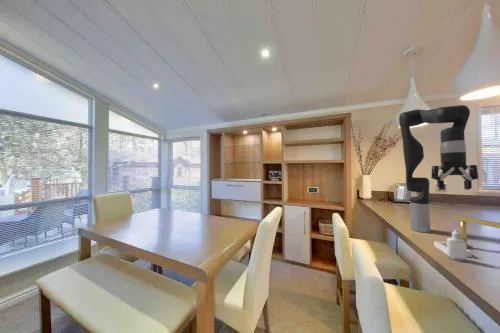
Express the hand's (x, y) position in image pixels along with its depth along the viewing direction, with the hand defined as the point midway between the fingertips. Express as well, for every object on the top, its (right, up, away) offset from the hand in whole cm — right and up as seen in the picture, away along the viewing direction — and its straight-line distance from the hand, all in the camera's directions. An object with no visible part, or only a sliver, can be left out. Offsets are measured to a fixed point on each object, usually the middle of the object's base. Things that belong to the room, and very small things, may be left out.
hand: (454, 189), depth 80 cm
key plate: (+18, -30, +12) cm, 37 cm away
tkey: (+19, -29, +6) cm, 35 cm away
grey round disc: (+1, -30, -1) cm, 30 cm away
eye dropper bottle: (+1, -30, 0) cm, 30 cm away
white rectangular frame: (+6, -30, +7) cm, 32 cm away
